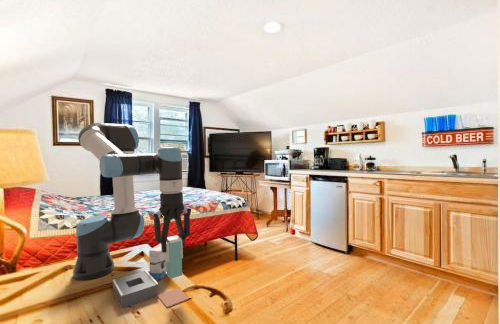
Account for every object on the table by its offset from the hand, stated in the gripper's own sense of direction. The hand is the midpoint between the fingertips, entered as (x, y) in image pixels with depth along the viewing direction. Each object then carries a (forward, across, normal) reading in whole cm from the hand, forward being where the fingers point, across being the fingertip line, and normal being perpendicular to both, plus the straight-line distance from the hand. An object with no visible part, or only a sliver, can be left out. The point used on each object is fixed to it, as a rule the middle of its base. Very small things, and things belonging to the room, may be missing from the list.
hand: (173, 258), depth 90 cm
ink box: (+14, +2, +20) cm, 25 cm away
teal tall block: (+6, 0, 0) cm, 6 cm away
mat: (+14, 0, 0) cm, 14 cm away
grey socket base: (+14, -10, +12) cm, 21 cm away
